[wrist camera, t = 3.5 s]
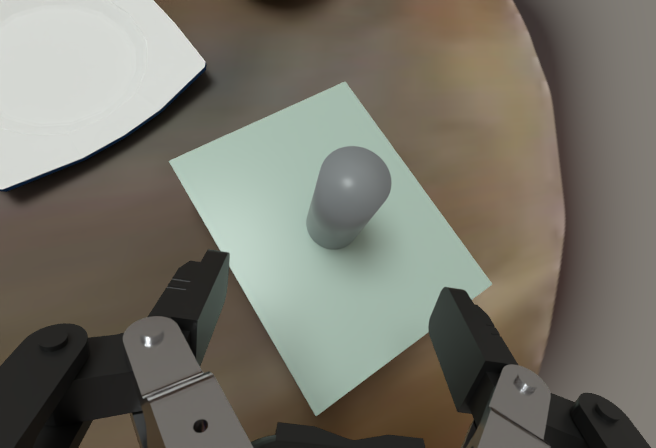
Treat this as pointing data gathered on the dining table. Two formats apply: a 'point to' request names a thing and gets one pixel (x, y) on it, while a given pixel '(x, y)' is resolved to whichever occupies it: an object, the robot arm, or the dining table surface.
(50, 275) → the dining table surface
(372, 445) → the robot arm
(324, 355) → the lid
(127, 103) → the plate
